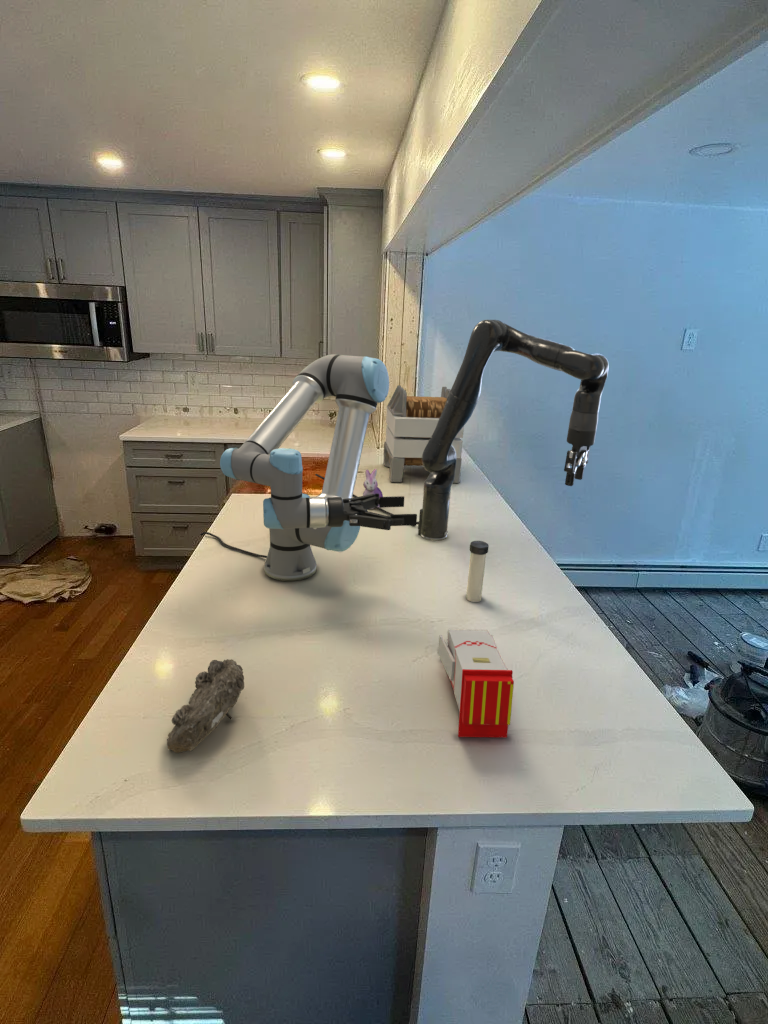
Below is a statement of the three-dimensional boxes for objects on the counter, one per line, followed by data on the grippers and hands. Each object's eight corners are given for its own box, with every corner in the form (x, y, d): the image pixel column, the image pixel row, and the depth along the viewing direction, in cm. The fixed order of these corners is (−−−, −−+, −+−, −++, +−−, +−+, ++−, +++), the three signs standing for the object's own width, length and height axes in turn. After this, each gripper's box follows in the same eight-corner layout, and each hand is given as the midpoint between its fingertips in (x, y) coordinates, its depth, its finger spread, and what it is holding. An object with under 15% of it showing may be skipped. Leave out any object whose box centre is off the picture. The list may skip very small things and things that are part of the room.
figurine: (367, 511, 220) (368, 474, 215) (356, 503, 228) (357, 467, 223) (388, 508, 224) (390, 471, 219) (377, 500, 233) (378, 465, 228)
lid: (465, 549, 153) (466, 542, 152) (478, 545, 156) (479, 539, 155) (478, 556, 149) (479, 549, 148) (491, 552, 152) (492, 545, 151)
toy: (488, 613, 130) (523, 677, 101) (484, 667, 133) (517, 744, 104) (435, 612, 130) (455, 676, 101) (432, 666, 133) (451, 743, 103)
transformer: (382, 463, 289) (386, 382, 275) (445, 464, 293) (451, 384, 279) (390, 482, 257) (394, 392, 243) (460, 483, 261) (468, 394, 247)
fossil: (192, 660, 117) (244, 628, 112) (224, 691, 120) (276, 661, 115) (142, 746, 98) (202, 712, 93) (182, 779, 101) (242, 748, 96)
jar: (462, 597, 158) (468, 544, 152) (473, 593, 160) (479, 541, 155) (473, 603, 155) (479, 550, 149) (484, 599, 157) (490, 546, 152)
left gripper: (321, 509, 153) (398, 507, 157) (332, 546, 130) (421, 542, 134) (322, 483, 151) (399, 481, 155) (332, 515, 128) (423, 513, 132)
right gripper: (577, 422, 167) (568, 474, 173) (561, 428, 156) (552, 484, 162) (603, 425, 163) (593, 479, 169) (588, 433, 152) (578, 490, 158)
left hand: (410, 510), depth 145 cm, fingers open, 13 cm apart
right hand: (573, 482), depth 165 cm, fingers open, 8 cm apart
